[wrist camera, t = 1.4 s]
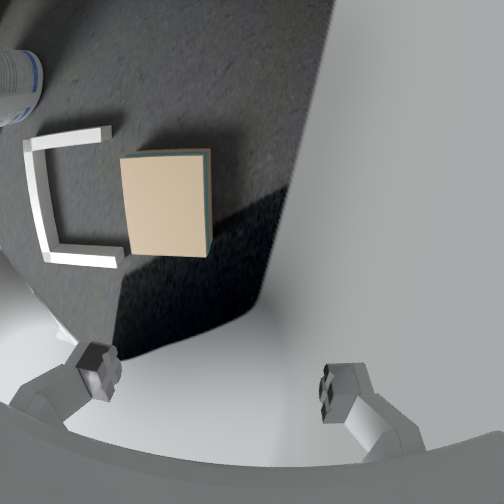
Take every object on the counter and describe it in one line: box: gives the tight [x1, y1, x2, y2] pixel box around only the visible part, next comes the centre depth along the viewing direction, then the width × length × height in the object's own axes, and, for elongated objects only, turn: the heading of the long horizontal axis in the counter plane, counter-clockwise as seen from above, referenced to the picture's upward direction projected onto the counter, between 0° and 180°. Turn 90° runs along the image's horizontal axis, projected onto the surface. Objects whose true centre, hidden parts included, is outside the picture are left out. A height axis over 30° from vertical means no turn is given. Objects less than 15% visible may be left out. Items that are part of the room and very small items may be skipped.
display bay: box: [23, 125, 125, 268], centre depth 31 cm, size 16×12×2 cm
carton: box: [120, 149, 213, 257], centre depth 30 cm, size 10×8×4 cm
